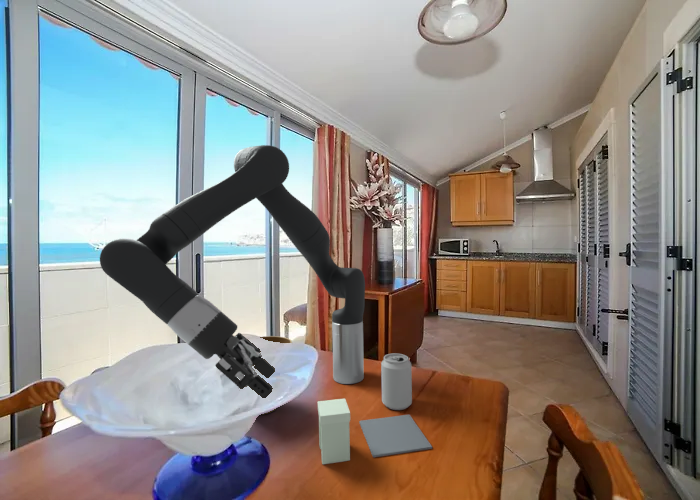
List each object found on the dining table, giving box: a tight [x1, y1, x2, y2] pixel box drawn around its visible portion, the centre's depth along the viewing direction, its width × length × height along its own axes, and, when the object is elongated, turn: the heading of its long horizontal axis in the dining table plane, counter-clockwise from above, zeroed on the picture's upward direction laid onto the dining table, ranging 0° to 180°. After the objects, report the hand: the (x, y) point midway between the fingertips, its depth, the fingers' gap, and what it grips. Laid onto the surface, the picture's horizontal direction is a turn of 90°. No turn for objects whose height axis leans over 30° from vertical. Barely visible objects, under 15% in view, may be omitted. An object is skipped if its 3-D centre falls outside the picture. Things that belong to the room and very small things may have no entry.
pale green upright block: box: [317, 398, 351, 465], centre depth 62 cm, size 6×6×9 cm
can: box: [380, 352, 413, 411], centre depth 80 cm, size 8×8×12 cm
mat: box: [359, 414, 433, 458], centre depth 67 cm, size 12×12×1 cm
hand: (270, 383), depth 59 cm, fingers open, 8 cm apart
